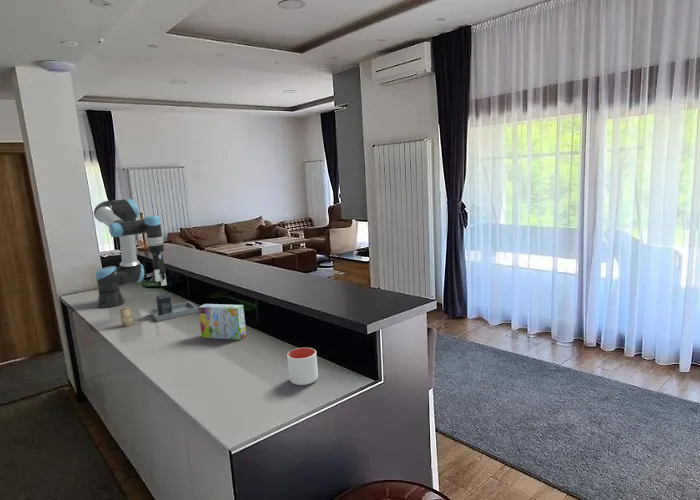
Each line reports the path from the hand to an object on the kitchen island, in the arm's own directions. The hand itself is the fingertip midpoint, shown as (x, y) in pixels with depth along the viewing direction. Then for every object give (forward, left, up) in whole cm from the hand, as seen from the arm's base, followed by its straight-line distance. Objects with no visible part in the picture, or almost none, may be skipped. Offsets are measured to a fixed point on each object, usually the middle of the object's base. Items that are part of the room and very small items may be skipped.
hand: (161, 283), depth 243 cm
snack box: (+59, +13, -19) cm, 63 cm away
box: (0, 0, -18) cm, 18 cm away
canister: (+3, -19, -18) cm, 27 cm away
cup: (+123, +19, -19) cm, 126 cm away
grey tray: (0, +5, -18) cm, 19 cm away
